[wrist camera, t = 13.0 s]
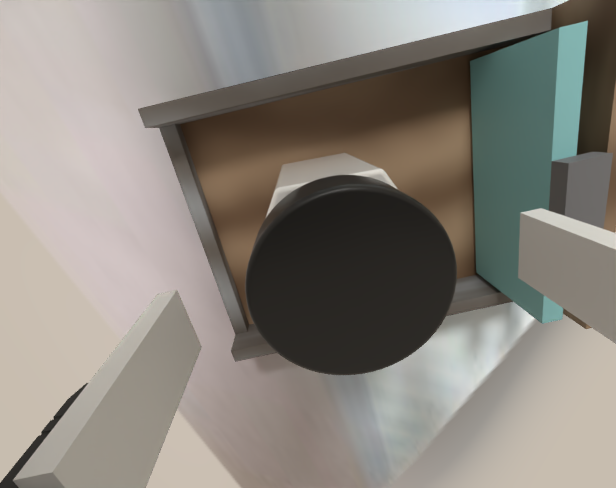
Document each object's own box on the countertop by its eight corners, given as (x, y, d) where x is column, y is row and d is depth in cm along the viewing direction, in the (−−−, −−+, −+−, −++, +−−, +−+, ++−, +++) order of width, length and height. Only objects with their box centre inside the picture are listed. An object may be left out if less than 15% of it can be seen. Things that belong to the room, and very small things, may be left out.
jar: (274, 272, 24) (261, 395, 13) (250, 168, 22) (204, 211, 10) (387, 252, 24) (470, 358, 13) (377, 144, 21) (472, 161, 10)
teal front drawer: (165, 112, 21) (95, 103, 13) (519, 26, 20) (652, -33, 13) (242, 329, 27) (224, 405, 20) (514, 269, 27) (602, 325, 19)
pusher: (469, 61, 20) (580, 19, 12) (501, 53, 20) (631, 7, 12) (476, 272, 25) (555, 334, 17) (501, 266, 25) (591, 326, 17)
